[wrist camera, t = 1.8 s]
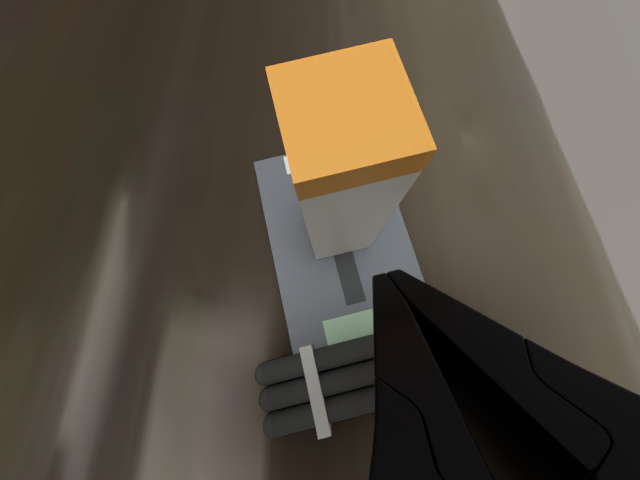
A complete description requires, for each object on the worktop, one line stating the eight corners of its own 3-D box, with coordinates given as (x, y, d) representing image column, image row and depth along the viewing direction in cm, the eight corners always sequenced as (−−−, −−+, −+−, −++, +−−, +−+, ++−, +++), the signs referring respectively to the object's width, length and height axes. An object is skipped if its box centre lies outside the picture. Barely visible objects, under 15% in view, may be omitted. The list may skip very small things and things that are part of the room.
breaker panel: (434, 320, 18) (438, 320, 18) (294, 356, 18) (293, 357, 17) (372, 138, 22) (373, 133, 21) (255, 166, 22) (253, 161, 21)
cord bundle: (468, 301, 18) (479, 301, 17) (497, 380, 17) (513, 387, 16) (255, 356, 18) (248, 361, 17) (269, 441, 17) (263, 454, 15)
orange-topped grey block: (369, 246, 19) (436, 149, 7) (316, 260, 19) (293, 184, 7) (354, 196, 20) (391, 37, 8) (303, 209, 20) (265, 66, 8)
